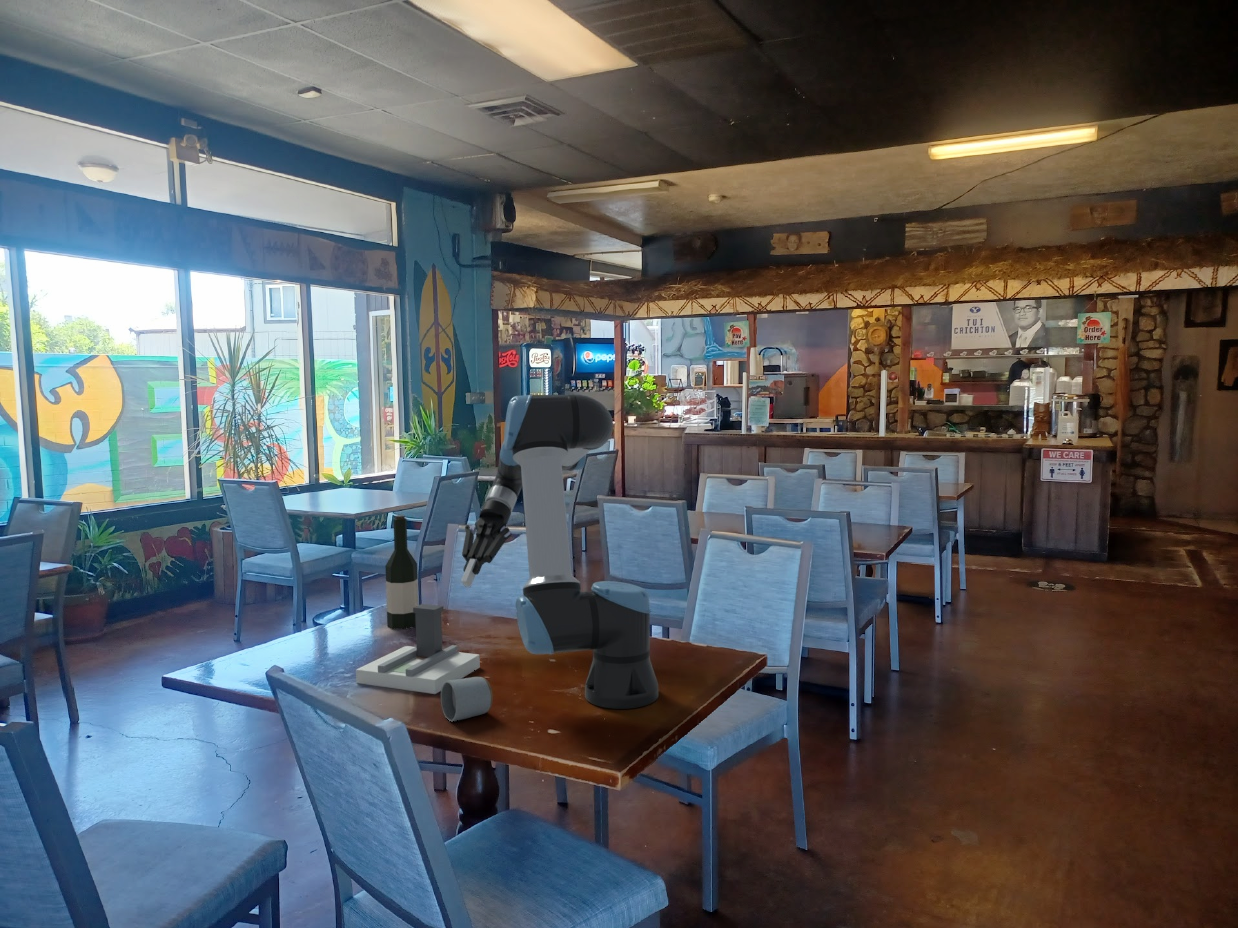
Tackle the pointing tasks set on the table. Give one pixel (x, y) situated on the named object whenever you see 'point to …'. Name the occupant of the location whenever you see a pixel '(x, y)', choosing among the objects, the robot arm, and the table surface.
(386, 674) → the plate
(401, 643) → the table surface
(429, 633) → the handle
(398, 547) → the wine bottle
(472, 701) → the ceramic mug
